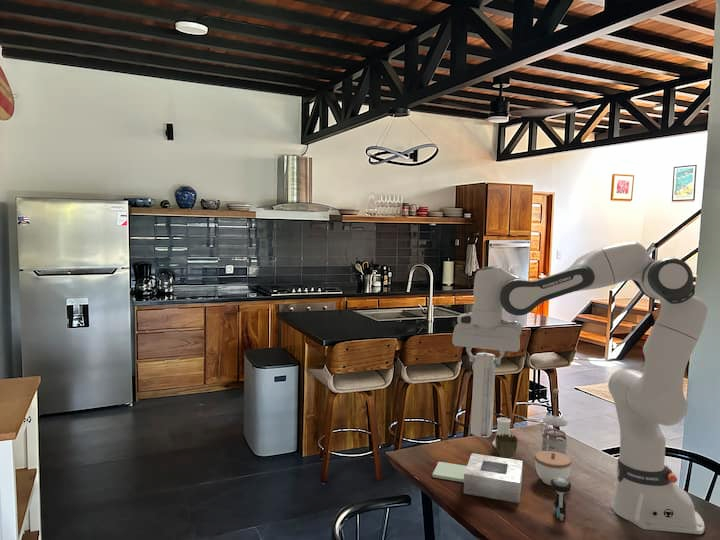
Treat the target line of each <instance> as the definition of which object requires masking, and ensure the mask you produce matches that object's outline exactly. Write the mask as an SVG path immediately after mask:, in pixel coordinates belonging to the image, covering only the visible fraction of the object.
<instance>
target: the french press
mask: <svg viewBox="0 0 720 540" xmlns="http://www.w3.org/2000/svg"><path fill="white" fill-rule="evenodd" d="M552 392H553V394H554V393H555V395H557V394H559V393H560V390H559V389H558V388H554V389H553V390H552ZM554 401H555V402H554V406H555V407H554V415H548V416H545V417H544V418H542V423H541V426H540V427H541V428H540V429H541V430H540V433H541V437H542V441H541V443H542V444H541V446H542V448H541V451H554V452H559V453H562V454H564V455H567V453H566V452H567V436H566V435H567V434H566V432H565V431H563V430H560V429H558V428H557V429H556V427H565V426H567V425H568V422H569V421H568V420H566V419H565V418H563V417H561V416H557V415H556V414H557V400H554ZM544 423H545V428H544V430H543V425H544ZM547 426H552V427H554V428H547ZM560 438H561V439H560Z"/></svg>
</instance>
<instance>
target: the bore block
mask: <svg viewBox="0 0 720 540" xmlns="http://www.w3.org/2000/svg"><path fill="white" fill-rule="evenodd" d="M466 466H467V467H466V470H465V473H464V482H463V494H465V495H466V494H467V495H470V496H477V497H482V498H483V497H484V498H489V499H494V500H500V501H505V502H511V503H516V504H520V500H521V499H520V498H521V491H522V483H523V482H522V481H523V467H524V466H523V460H520V459H513V458H512V459H507V458H500V456H499V457H498V456H493V455H486V454H480V453H479V454H478V453H473V452H472V453H471V454H470V457H469V460H468V462H467V464H466Z"/></svg>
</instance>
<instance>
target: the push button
mask: <svg viewBox="0 0 720 540" xmlns="http://www.w3.org/2000/svg"><path fill="white" fill-rule="evenodd" d="M550 486H551V488H552V489H553V490H554V491H555V492H556V496H555V499H554V501H553V504H554V505H553V506H554V507H553V514H556V517H557V519H559V520H560V521H564V519H565V516H566V515H567V514H566V513H567V510H566V506H567V502H566V500H565V493H568V492H570V491H571V487H572V484H571V483H570V481H568V479H566V478H563V477H555V478H554V479H552V480H551V485H550Z"/></svg>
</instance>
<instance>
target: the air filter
mask: <svg viewBox="0 0 720 540" xmlns="http://www.w3.org/2000/svg"><path fill="white" fill-rule="evenodd" d="M496 358H497V357H496V355H495V354H493V353H489V352H476V354H475V356H474V362H473V374H472V375H473V377H472V397H471V399H472V400H471V417H470V434H472V435H474V436H475V437H479V438H489V437H491V436H492V435H493V427H494V426H493V423H494V405H495V402H494V401H495V400H494V399H495V398H494V397H495V385H496V384H495V383H496V380H495V379H496V366H497V364H495V362H496V361H495V359H496Z"/></svg>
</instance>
